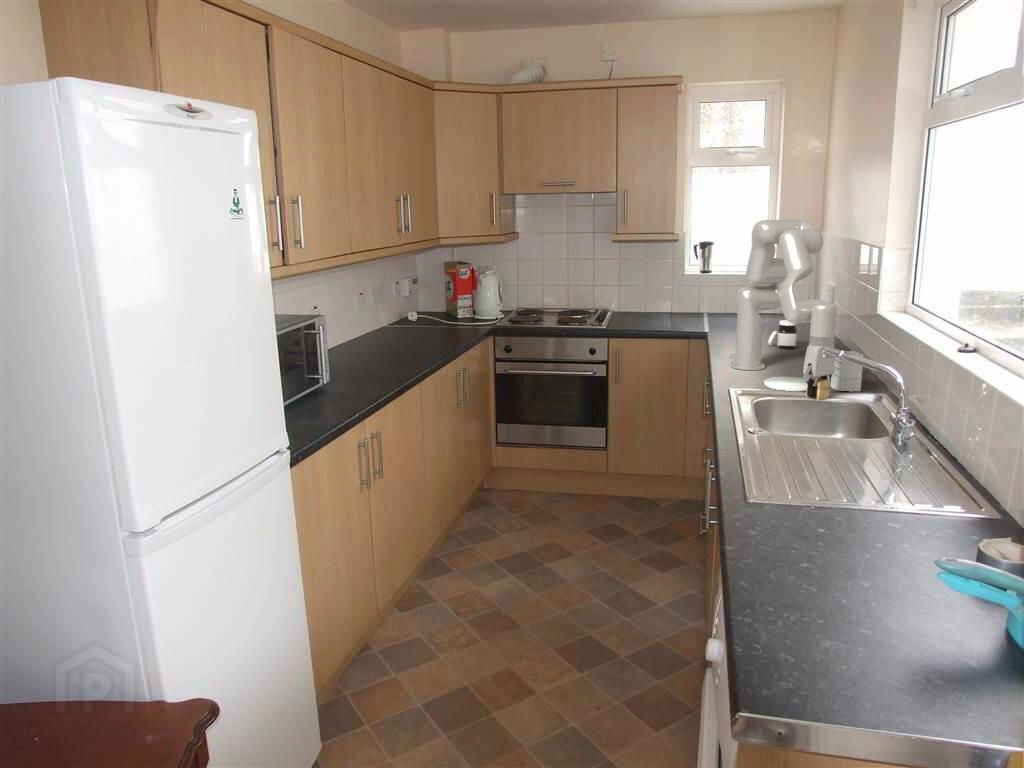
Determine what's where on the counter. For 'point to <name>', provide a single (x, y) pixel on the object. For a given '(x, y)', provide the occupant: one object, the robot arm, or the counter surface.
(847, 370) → the supplement box
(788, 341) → the spread jar
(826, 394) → the block
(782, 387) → the dish
